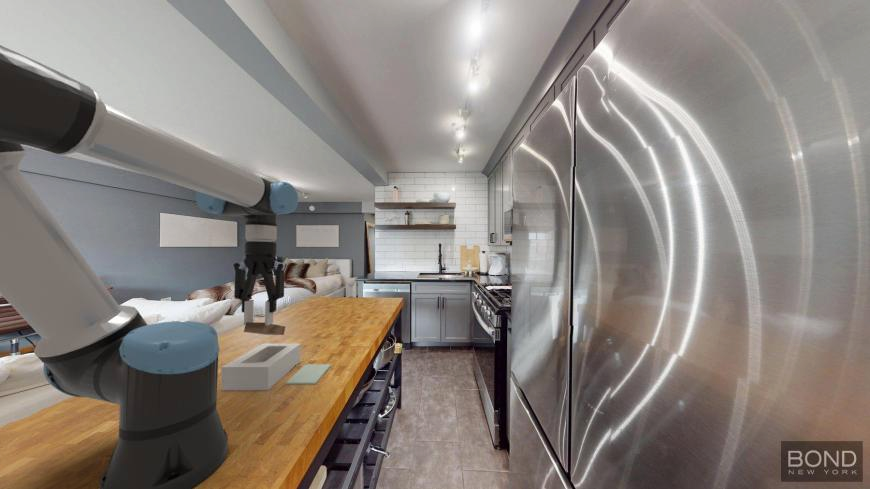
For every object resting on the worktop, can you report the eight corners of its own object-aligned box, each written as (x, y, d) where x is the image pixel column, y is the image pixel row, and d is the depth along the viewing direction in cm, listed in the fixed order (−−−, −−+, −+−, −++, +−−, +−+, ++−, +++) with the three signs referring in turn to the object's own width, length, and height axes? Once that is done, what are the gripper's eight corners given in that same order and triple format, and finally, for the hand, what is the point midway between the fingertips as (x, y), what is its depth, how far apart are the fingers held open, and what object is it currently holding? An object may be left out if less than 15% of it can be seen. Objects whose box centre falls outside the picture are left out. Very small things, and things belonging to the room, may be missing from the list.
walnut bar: (262, 332, 75) (264, 322, 76) (243, 331, 75) (246, 322, 76) (283, 334, 86) (285, 326, 87) (267, 334, 86) (269, 326, 87)
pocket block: (268, 390, 72) (268, 366, 72) (221, 390, 71) (221, 367, 71) (300, 362, 90) (300, 343, 90) (262, 362, 89) (263, 343, 89)
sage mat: (315, 384, 75) (315, 382, 75) (285, 384, 75) (285, 382, 75) (331, 365, 87) (331, 364, 87) (305, 365, 87) (305, 364, 87)
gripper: (299, 242, 82) (297, 320, 81) (238, 241, 82) (235, 320, 81) (286, 240, 74) (284, 327, 74) (218, 240, 74) (215, 327, 73)
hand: (258, 323), depth 77 cm, fingers closed on walnut bar, 5 cm apart
